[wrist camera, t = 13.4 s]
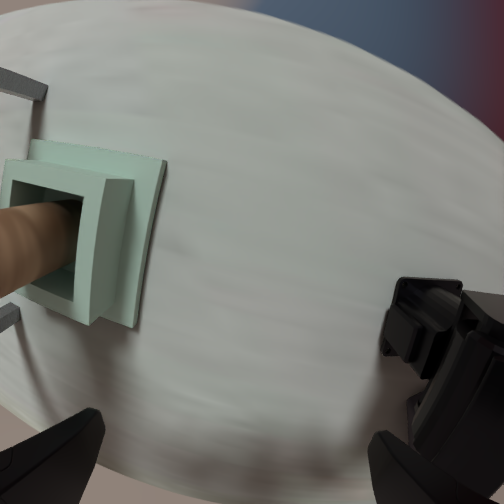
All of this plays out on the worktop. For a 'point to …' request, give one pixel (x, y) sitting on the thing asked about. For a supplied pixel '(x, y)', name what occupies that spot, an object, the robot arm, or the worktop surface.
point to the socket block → (91, 225)
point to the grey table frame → (35, 92)
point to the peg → (37, 241)
